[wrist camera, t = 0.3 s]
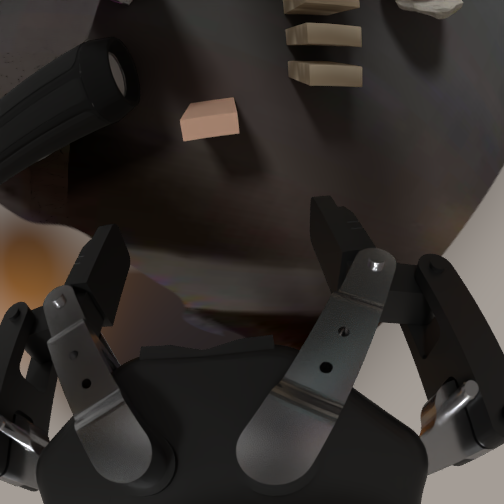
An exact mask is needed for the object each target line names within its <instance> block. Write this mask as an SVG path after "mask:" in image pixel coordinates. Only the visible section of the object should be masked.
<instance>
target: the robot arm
mask: <svg viewBox="0 0 504 504" xmlns="http://www.w3.org/2000/svg"><path fill="white" fill-rule="evenodd" d="M310 237H311V242H312V245H313V248H314V250H315V253H316V255H317V258H318V260H319V263H320V265H321V268H322V270H323V273H324V275H325V278H326V281H327V283H328V286H329V288H330V291H331V294H332V295H331V297H330V299H329V300H328V302H327V304H326V306H325V308H324V310H323V311H322V313H321V315H320V317H319V318H318V320H317V322H316V324H315V326H314V327H313V329H312V331H311V333H310V334H309V336H308V338H307V339H306V341H305V343H304V345H303V346H302V348H301V350H297V349H294V348H291V347H288V346H283V345H274V341H273V335H268V336H260V337H252V338H244V339H238V340H234V341H231V342H229V343H225V344H222V345H219V346H216V347H213V348H210V349H206V350H199V349H192V348H185V347H179V346H173V345H165V346H146V347H141V351H140V357H137V358H135V359H132V360H130V361H128V362H126V363H124V364H123V365H121V366H120V364H119V362H118V361H117V359H116V357H115V356H114V354H113V352H112V350H111V349H110V347H109V345H108V343H107V341H106V340H105V338H104V336H103V335H102V333H101V328H102V327H105V326H113V323H114V319H115V315H116V312H117V308H118V305H119V301H120V297H121V294H122V291H123V287H124V284H125V280H126V277H127V274H128V271H129V268H130V256H129V252H128V250H127V247H126V245H125V242H124V240H123V237H122V235H121V232H120V230H119V227H118V226H117V225H116V224H110V225H105V226H100V227H98V229H97V231H96V233H95V235H94V236H93V238H92V239H91V240H90V241H89V242H88V243H87V244H86V245H85V246H84V247H83V248H82V250H81V252H80V254H79V256H78V258H77V260H76V262H75V264H74V266H73V268H72V270H71V272H70V274H69V276H68V278H67V280H66V282H65V285H63V286H59V287H57V288H55V289H54V290H52V291H51V292H50V293H49V294H48V295H47V297H46V298H45V300H44V303H43V306H41V307H38V308H36V309H33V310H30V308H29V307H28V306H27V304H26V303H24V302H18V303H16V304H14V305H13V306H12V307H10V308H9V309H8V311H7V312H6V314H5V315H4V318H3V320H2V322H1V325H0V480H2V481H4V482H7V483H9V484H12V485H14V486H20V487H22V488H24V489H27V490H30V491H37V490H39V491H40V494H41V497H42V500H43V503H44V504H421V498H422V493H423V489H424V485H425V482H426V478H427V475H429V474H432V473H434V472H437V471H439V470H442V469H444V468H446V467H448V466H451V465H454V466H460V465H463V464H466V463H467V462H470V461H472V460H474V459H476V458H478V457H480V456H482V455H484V454H486V453H488V452H489V451H491V450H493V449H495V448H497V447H498V446H500V445H502V444H503V443H504V354H503V352H502V350H501V348H500V346H499V344H498V342H497V340H496V338H495V336H494V334H493V332H492V330H491V328H490V326H489V325H488V323H487V321H486V319H485V317H484V316H483V314H482V312H481V310H480V309H479V307H478V305H477V304H476V302H475V300H474V299H473V297H472V295H471V294H470V292H469V291H468V289H467V287H466V286H465V284H464V283H463V281H462V279H461V278H460V276H459V275H458V273H457V272H456V270H455V269H454V267H453V266H452V265H451V263H450V262H449V261H448V260H446V259H445V258H443V257H441V256H439V255H435V254H426V255H423V256H422V257H421V258H420V259H419V261H418V264H417V265H408V264H400V263H396V261H395V259H394V257H393V256H392V255H391V254H390V253H388V252H386V251H384V250H382V249H378V248H376V247H375V245H374V244H373V242H372V240H371V239H370V237H369V236H368V234H367V233H366V231H365V230H364V228H362V225H361V224H360V222H358V219H357V218H356V216H355V215H354V213H353V212H351V211H350V210H348V209H347V208H345V207H344V206H342V207H337V205H336V204H335V202H334V201H333V199H332V197H331V196H320V197H312V198H311V207H310ZM378 322H386V323H399V324H400V326H401V328H402V331H403V333H404V336H405V338H406V341H407V343H408V346H409V348H410V351H411V354H412V356H413V359H414V361H415V364H416V366H417V370H418V373H419V376H420V378H421V381H422V384H423V387H424V390H425V393H426V396H427V399H428V401H427V402H426V404H425V405H424V407H423V408H422V412H421V433H420V435H419V436H418V435H417V434H416V433H415V432H414V431H413V430H412V429H411V428H409V427H408V426H406V425H405V424H403V423H402V422H401V421H399V420H398V419H396V418H395V417H393V416H392V415H390V414H389V413H387V412H386V411H385V410H383V409H382V408H380V407H379V406H378V405H376V404H375V403H373V402H372V401H371V400H369V399H368V398H367V397H365V396H364V395H362V394H361V393H360V392H358V391H357V390H355V389H354V388H353V385H354V382H355V380H356V378H357V376H358V373H359V371H360V368H361V366H362V364H363V361H364V359H365V356H366V354H367V351H368V349H369V346H370V344H371V341H372V339H373V336H374V333H375V331H376V328H377V325H378ZM24 349H25V350H26V352H27V353H28V354H29V355H30V356H31V361H30V364H29V368H28V371H27V375H26V379H25V378H24V377H23V376H22V375H21V372H20V362H21V358H22V355H23V352H24ZM57 377H58V378H59V381H60V384H61V386H62V389H63V391H64V394H65V396H66V399H67V401H68V404H69V406H70V408H71V411H72V413H73V416H72V418H71V419H70V420H69V421H68V422H67V423H66V424H65V425H64V427H62V429H61V430H60V431H59V432H58V433H57V434H56V435H55V437H54V438H53V439H52V440H51V441H49V437H48V430H49V423H50V416H51V410H52V404H53V398H54V392H55V387H56V382H57Z"/></svg>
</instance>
